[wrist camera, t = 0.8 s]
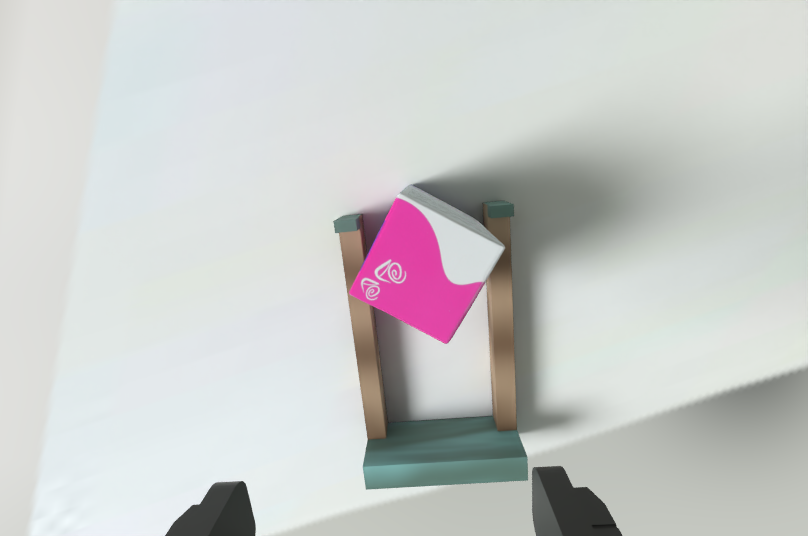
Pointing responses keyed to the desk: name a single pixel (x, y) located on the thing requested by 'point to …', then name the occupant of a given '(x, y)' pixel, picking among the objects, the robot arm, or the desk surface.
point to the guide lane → (446, 438)
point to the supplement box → (427, 264)
